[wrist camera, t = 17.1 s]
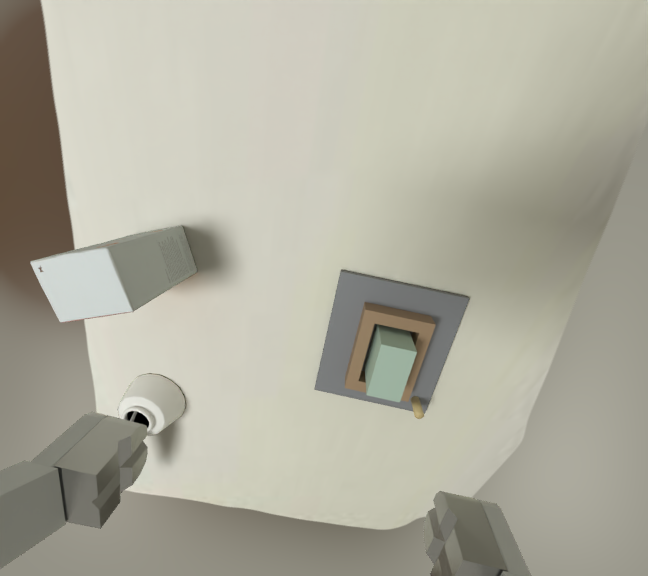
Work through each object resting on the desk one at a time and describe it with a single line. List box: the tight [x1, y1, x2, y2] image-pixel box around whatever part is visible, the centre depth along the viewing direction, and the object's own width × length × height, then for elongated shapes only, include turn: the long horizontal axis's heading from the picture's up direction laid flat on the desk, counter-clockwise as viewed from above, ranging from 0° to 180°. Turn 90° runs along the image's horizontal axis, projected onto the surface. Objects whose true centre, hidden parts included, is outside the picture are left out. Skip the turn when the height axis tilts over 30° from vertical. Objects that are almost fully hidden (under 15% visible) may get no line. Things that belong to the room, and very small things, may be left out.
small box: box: [30, 226, 197, 323], centre depth 34 cm, size 8×6×13 cm
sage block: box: [365, 324, 417, 402], centre depth 38 cm, size 4×7×6 cm, turn 169°
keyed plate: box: [315, 270, 469, 419], centre depth 40 cm, size 18×16×4 cm
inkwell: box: [117, 374, 185, 493], centre depth 45 cm, size 9×18×10 cm, turn 165°
